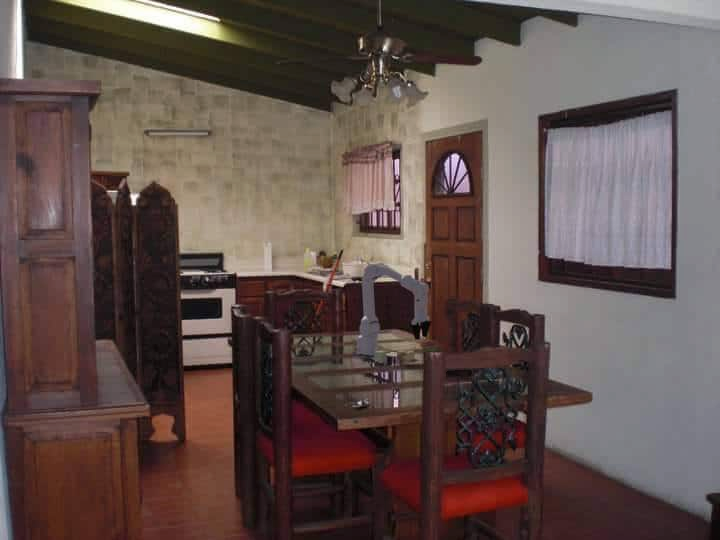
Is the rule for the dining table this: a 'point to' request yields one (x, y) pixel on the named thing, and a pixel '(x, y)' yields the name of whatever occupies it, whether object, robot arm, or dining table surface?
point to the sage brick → (380, 356)
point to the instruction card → (392, 354)
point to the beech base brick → (405, 355)
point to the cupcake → (429, 344)
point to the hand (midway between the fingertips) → (420, 338)
